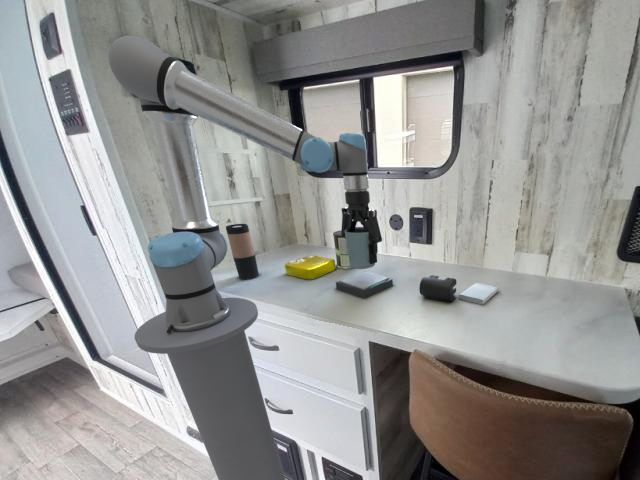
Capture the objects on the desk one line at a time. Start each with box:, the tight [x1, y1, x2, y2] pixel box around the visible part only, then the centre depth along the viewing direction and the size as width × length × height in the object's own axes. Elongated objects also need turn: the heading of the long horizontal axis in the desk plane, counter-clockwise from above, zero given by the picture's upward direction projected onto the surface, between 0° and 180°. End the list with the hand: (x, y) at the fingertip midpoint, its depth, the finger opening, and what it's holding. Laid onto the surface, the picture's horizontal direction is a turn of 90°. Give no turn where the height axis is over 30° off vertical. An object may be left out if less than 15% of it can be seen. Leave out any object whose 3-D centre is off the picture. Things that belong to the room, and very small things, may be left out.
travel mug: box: [225, 223, 260, 281], centre depth 117 cm, size 8×8×20 cm
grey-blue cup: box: [345, 226, 376, 270], centre depth 102 cm, size 10×10×12 cm
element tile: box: [284, 254, 336, 281], centre depth 124 cm, size 15×15×5 cm
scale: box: [335, 271, 394, 300], centre depth 107 cm, size 14×14×3 cm
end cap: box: [418, 274, 458, 303], centre depth 96 cm, size 10×7×7 cm
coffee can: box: [332, 230, 352, 270], centre depth 129 cm, size 10×10×14 cm
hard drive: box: [458, 282, 499, 305], centre depth 98 cm, size 2×8×12 cm
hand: (362, 260), depth 104 cm, fingers closed on grey-blue cup, 9 cm apart
